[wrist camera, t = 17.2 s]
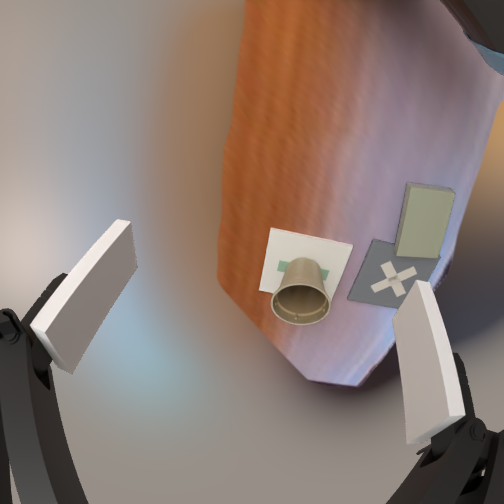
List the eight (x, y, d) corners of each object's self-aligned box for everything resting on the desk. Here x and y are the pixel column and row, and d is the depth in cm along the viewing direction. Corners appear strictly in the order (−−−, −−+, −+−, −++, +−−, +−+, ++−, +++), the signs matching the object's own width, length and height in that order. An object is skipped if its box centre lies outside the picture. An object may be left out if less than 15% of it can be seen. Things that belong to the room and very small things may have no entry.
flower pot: (266, 274, 54) (259, 309, 47) (296, 239, 49) (293, 273, 42) (308, 297, 56) (306, 332, 49) (340, 266, 50) (343, 302, 44)
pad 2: (372, 238, 47) (373, 241, 46) (439, 255, 46) (440, 257, 45) (347, 297, 55) (347, 300, 55) (408, 308, 54) (408, 310, 54)
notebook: (406, 182, 40) (410, 187, 38) (450, 188, 38) (455, 193, 37) (393, 249, 46) (396, 255, 45) (433, 251, 45) (437, 258, 43)
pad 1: (270, 227, 49) (270, 230, 48) (352, 244, 48) (353, 247, 48) (259, 288, 58) (258, 290, 57) (329, 301, 57) (329, 304, 56)
